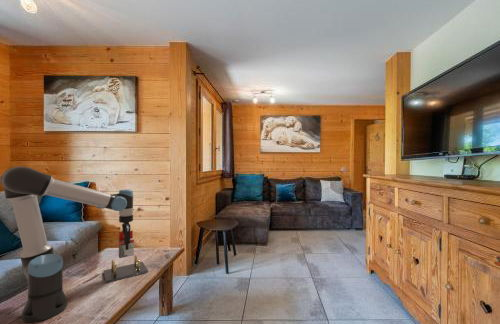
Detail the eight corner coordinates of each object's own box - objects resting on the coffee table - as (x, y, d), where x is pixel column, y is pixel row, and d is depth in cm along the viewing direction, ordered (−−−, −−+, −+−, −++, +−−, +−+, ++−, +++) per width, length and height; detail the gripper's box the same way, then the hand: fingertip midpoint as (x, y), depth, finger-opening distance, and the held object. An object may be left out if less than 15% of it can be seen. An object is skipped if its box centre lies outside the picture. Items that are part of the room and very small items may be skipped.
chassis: (105, 282, 130) (105, 269, 130) (103, 272, 143) (103, 260, 143) (148, 272, 143) (148, 260, 143) (142, 263, 156) (142, 252, 156)
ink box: (134, 255, 144) (134, 231, 144) (119, 258, 139) (119, 233, 139) (133, 253, 147) (133, 230, 147) (118, 256, 142) (118, 232, 142)
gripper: (135, 216, 139) (135, 256, 138) (130, 212, 152) (130, 248, 152) (121, 218, 134) (121, 259, 134) (117, 213, 148) (117, 251, 147)
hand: (126, 253), depth 143 cm, fingers closed on ink box, 4 cm apart
